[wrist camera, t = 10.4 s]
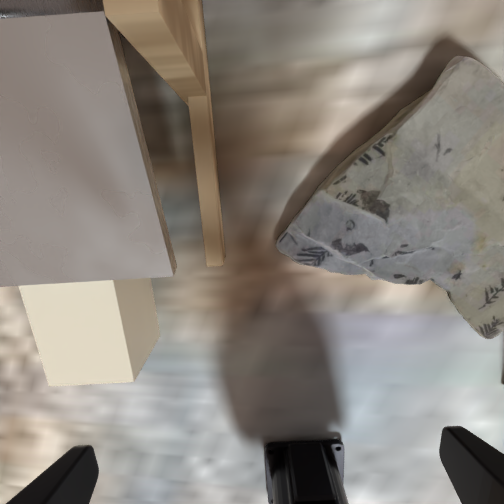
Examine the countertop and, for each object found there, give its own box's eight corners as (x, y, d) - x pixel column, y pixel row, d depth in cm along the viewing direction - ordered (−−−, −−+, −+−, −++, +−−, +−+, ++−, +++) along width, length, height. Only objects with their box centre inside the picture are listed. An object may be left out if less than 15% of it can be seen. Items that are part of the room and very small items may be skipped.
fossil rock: (611, 204, 19) (659, 209, 17) (452, 361, 23) (475, 383, 20) (420, 34, 16) (447, 13, 14) (272, 242, 20) (275, 252, 18)
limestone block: (145, 244, 19) (160, 334, 21) (73, 248, 19) (95, 338, 21) (110, 267, 15) (134, 382, 16) (14, 273, 15) (49, 386, 16)
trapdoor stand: (225, 256, 19) (199, 337, 10) (-1, 270, 20) (-244, 362, 10) (200, -17, 15) (115, -340, 6) (-85, 4, 16) (-629, -272, 6)
